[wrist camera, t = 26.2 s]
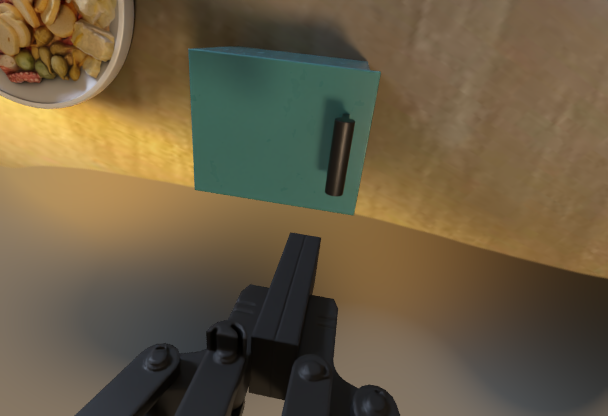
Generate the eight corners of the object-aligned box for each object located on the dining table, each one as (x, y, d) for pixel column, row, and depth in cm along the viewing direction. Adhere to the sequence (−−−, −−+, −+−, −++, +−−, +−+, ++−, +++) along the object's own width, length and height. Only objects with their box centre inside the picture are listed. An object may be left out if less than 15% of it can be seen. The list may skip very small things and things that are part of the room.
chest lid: (380, 71, 32) (383, 77, 27) (354, 212, 39) (352, 236, 34) (191, 48, 34) (164, 49, 29) (197, 187, 40) (176, 206, 36)
